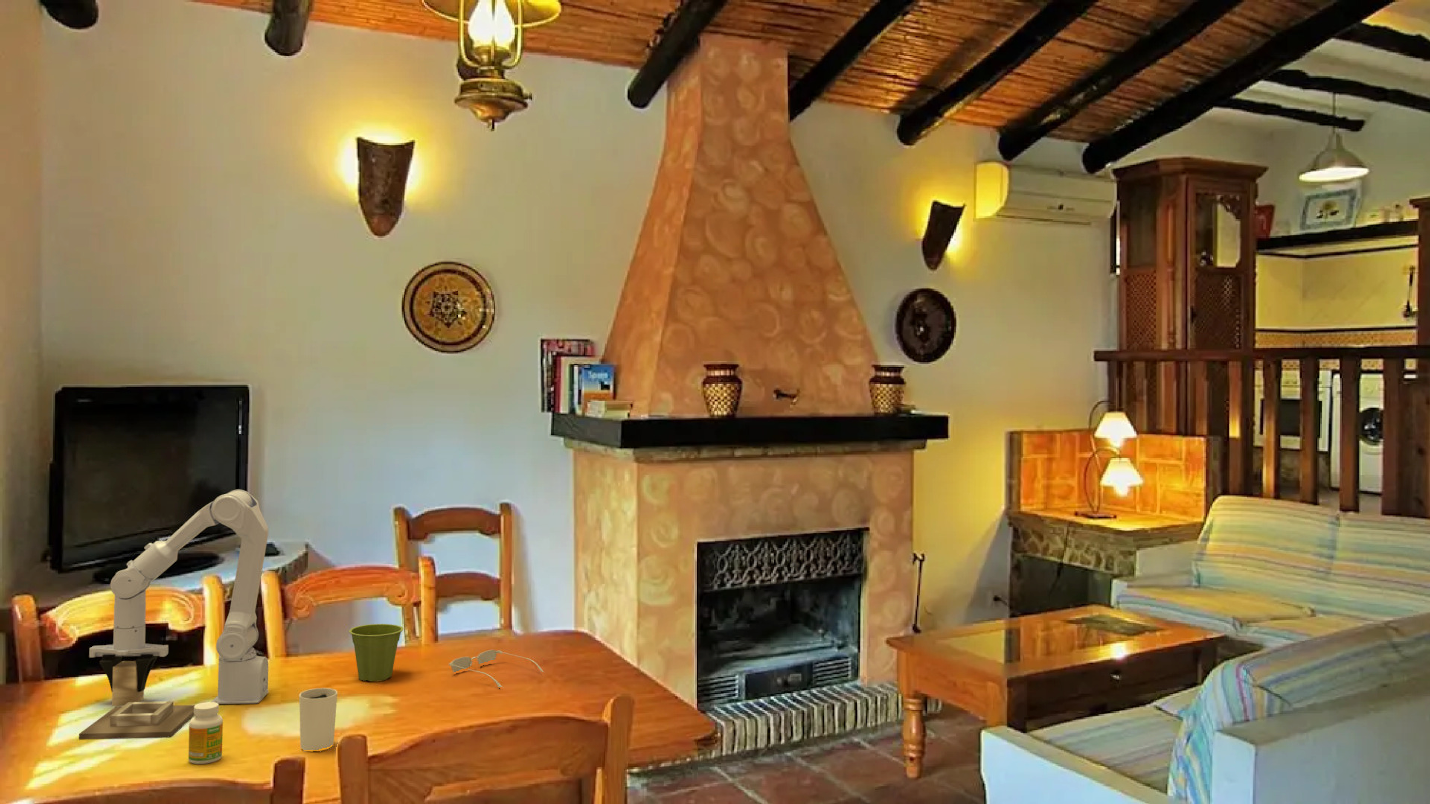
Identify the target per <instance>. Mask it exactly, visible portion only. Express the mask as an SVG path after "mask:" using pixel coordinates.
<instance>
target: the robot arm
mask: <svg viewBox="0 0 1430 804" xmlns="http://www.w3.org/2000/svg"><path fill="white" fill-rule="evenodd" d="M219 524H221V525H224V526H226V527H227V528H230V529H231V530H233V532H235V534H236V535H237V536H238V537H239V538H240V539H241V542H240V547H239V555H238V560H237V566H236V571H235V572H236V573H235V577H234V584H233V588H232V589H233V590H232V595H231V602H230V607H229V608H230V609H229V613H228V616H227V618H226V620H225V622H224V627H223V631H222V633H221V634H220V636H219V637H218V638H217V640H216V645H215V647H216V651H217V653H218V654H217V655H218V668H217V669H218V671H217V672H218V675H217V676H218V678H217V679H218V680H217V696H215V697H214V698H213V699H212V700H211V701H210V702H215V703H218V704H219V705H222V704H223V705H227V704H228V705H229V704H230V705H235V704H239V705H240V704H259V703H260V702H261V701H262V700H263V699H264V697H266V695H267V694H268V693H269V692H270V691H269V660H268V658H267V657H266V656H259V655H257V652H256V650H255V648H254V647H253V646H255V644H256V643H257V641H258V639H259V630H258V628H257V618H258V617H257V614H256V613H257V612H256V608H257V602H258V601H257V600H258V596H259V591H260V584H261V579H262V578H261V577H262V573H263V567H264V561H265V555H266V550H267V543H268V537H269V527H268V525H267V523H266V521H265V518H264V516H263V513H262V512H261V510H260V504H259V501H258V500H257V499H256V498H255V497H254V496H253V495H252V494H250V493H249V492H248V491H246V490H243V489H234V490H230V491H229V492H227V493H225V494H221V495H219V496H217V497H216V498H215V499H214V500H213V501H211V502H209V503H208V504H206V505H205V506H203V507H202V508H201V509H199V510H198V511H197V512H195V513H194V515H192V516H191V517H190V518H189V519H188V520H187V521H185V522H184V523H183V525H182V526H180V527H179V529H177V530H176V531H175V532H174V533H173V534H172V535H171V536H170V537H169V538H167V540H155V542H153V543H152V542H149V543H148V544H146V545H145V546H144V551H142V552H141V553H140V555H138V556H137V557H136V558H135V559H134V560H132V559H131V560H129V561H128V562H127V563H126V566H127V568H125V569H122V570H119V571H117V572H115V575H114V576H113V577H112V579H111V580H110V586H109V587H110V590H111V593H113V595H114V603H113V604H114V606H113V643H112V644H106V645H104V644H103V645H93V646H92V647H89V653H88V654H89V655H88V657H89V658H96V657H101V659H100V660H99V665H100V666H101V668H102V669H103V671H104V673H105V675H106V676H107V680H108V683H109V685H110V686H109V687H110V691H111V692H112V688H113V667H114V666H115V665H117V664H119V663H120V662H122V658H123V657H138V658H137V659H136V660H135V661H136V665H137V673H138V682H137V689H138V692H142V691H143V690H144V691H145V689H146V685H147V682H148V677H149V675H150V673H151V670H152V668H153V666H154V664H155V662H156V660H157V658H158V657H160V658H161V657H163V658H164V657H166V656H167V655H168V654H169V644H164V645H163V644H154V643H153V644H152V643H146V613H147V612H146V611H147V610H146V609H147V601H146V597H147V596H146V594H147V593H146V590H148V589H149V587H150V585H151V583H152V582H154V581H155V580H156V579H157V578H158V577H159V576H161V575H162V574H163V573H164V572H166V571H167V570H168V569H169V568H170V567H171V566H172V565H173V564H174V563H175V562H177V561H178V555H179V554H178V552H179V551H180V549H182V548H183V547H184V546H186V545H187V544H188V543H189V542H191V541H192V540H193V539H194V538H195V537H197V536H198V535H199V534H200V533H202V532H203V531H204V530H205V529H206V528H208V527H213V526H216V525H219Z"/></svg>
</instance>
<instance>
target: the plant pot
mask: <svg viewBox="0 0 1430 804" xmlns="http://www.w3.org/2000/svg"><path fill="white" fill-rule="evenodd" d="M403 631H404V627H403V626H401V625H397V624H392V623H371V624H363V625H357V626H353V627H351V628H350V629H349V630H348V632H349V634H350V635H351V639H352V644H353V645H354V646H353V647H354V654H355V655H354V656H355V661H356V667H357V675H358V679H359V680H361V681H362V680H363V682H364V681H365V682H366V681H369V682H372V681H377V682H380V681H381V682H383V681H385V680H388V679H389V678H391V677H392V675H393V669H394V664H395V660H396V655H397V649H398V644H399V641H400V638H401V633H402V632H403Z"/></svg>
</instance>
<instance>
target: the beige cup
mask: <svg viewBox="0 0 1430 804" xmlns="http://www.w3.org/2000/svg"><path fill="white" fill-rule="evenodd" d="M298 697H299V700H298V701H299V703H298V704H299V734H300V735H299V736H300V737H299V740H300V742H299V744H300V746H299V747H300V749H301V748H302V749H303V750H319V749H322V748H327V747H330V746H331V745H333V743H334V744H335V741H334V740H335V730H336V729H335V728H336V716H337V715H336V714H337V702H338V691H337V690H336V689H334V688H330V687H320V688H319V687H316V688H310V689H306V690H303V691H301V692H300V693H299V694H298ZM333 746H334V745H333Z"/></svg>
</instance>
